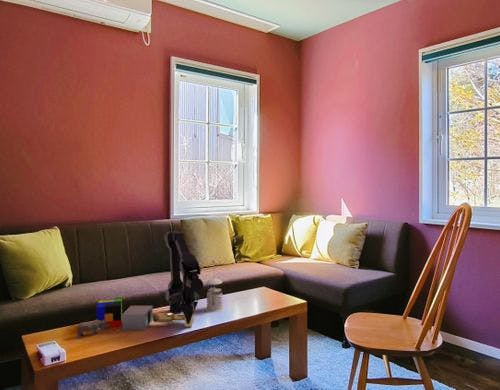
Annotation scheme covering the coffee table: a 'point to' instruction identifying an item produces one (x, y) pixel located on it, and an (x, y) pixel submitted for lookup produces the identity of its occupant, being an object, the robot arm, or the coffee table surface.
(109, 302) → the puzzle toy
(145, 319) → the housing
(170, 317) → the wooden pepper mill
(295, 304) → the coffee table surface
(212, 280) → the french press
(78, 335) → the rhino figurine
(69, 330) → the coffee table surface
